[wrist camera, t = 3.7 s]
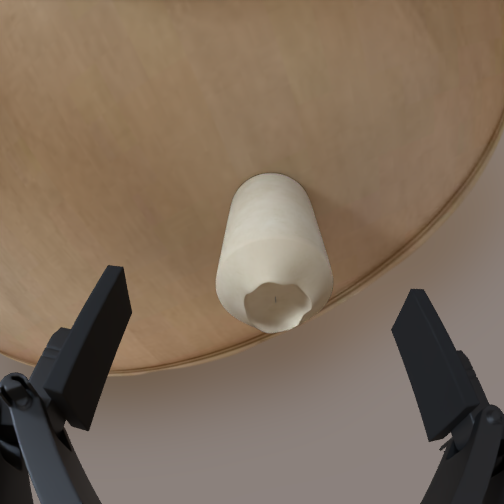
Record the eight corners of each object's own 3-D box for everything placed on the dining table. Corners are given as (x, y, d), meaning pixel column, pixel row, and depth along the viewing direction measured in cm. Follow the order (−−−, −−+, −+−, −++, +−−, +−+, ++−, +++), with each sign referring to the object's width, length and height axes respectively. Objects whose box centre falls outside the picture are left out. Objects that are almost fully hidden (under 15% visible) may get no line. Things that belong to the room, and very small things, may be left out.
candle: (224, 176, 21) (198, 263, 12) (307, 168, 20) (341, 249, 12) (237, 247, 24) (224, 354, 15) (312, 239, 23) (336, 344, 15)
